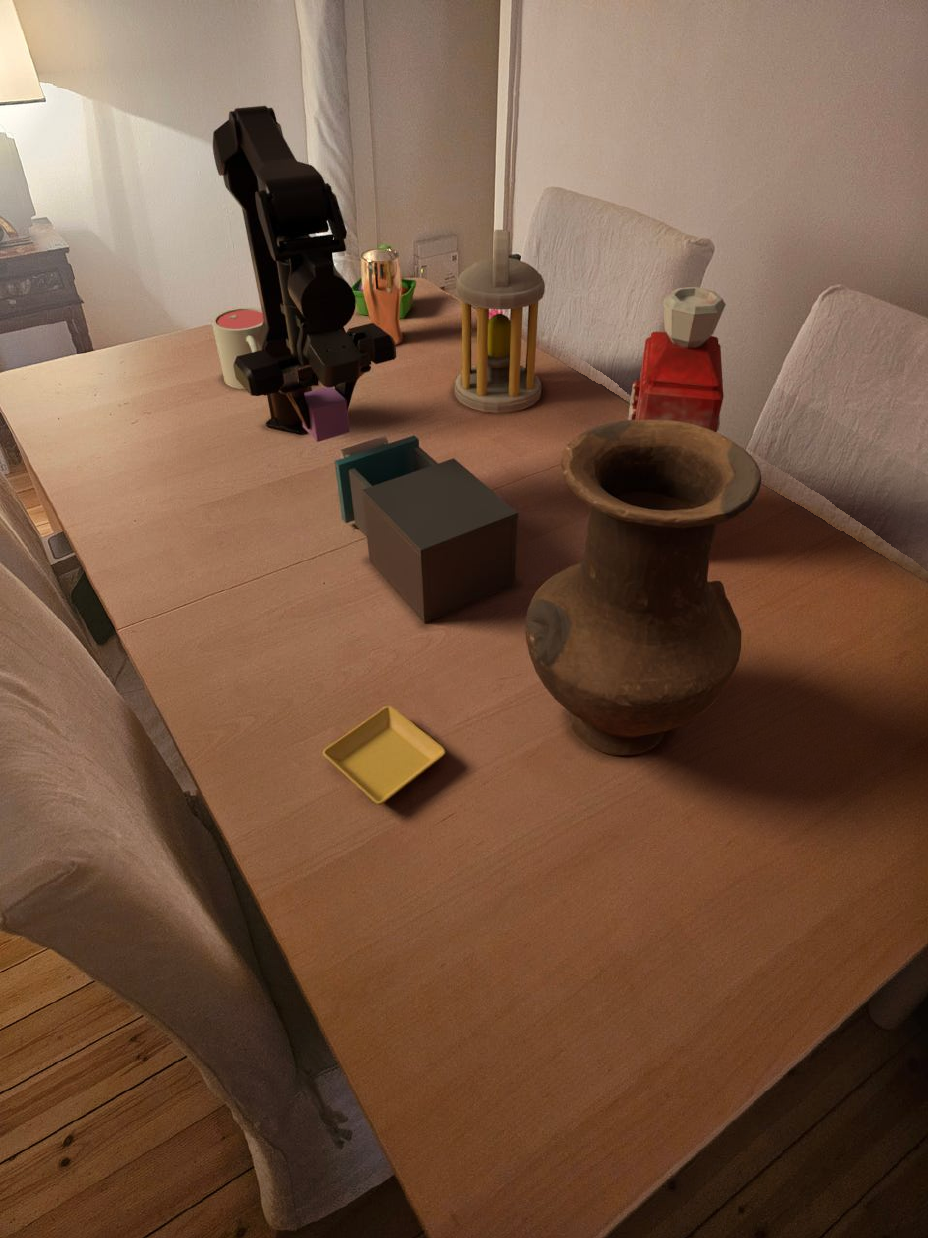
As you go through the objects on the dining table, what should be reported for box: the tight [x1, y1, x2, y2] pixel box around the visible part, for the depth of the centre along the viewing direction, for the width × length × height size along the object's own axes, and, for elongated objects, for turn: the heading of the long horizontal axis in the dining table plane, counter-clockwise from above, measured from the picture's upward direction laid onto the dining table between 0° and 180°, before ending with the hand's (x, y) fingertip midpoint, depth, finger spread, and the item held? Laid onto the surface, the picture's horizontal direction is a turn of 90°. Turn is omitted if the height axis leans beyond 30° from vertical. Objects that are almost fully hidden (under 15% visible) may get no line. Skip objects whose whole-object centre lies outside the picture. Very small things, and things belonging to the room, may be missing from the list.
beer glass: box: [360, 247, 404, 346], centre depth 145 cm, size 7×7×15 cm
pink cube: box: [302, 386, 351, 443], centre depth 102 cm, size 4×4×4 cm
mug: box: [211, 306, 263, 390], centre depth 134 cm, size 14×9×10 cm
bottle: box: [627, 286, 727, 433], centre depth 97 cm, size 14×10×30 cm
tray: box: [334, 435, 439, 538], centre depth 104 cm, size 17×11×9 cm
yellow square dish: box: [322, 705, 447, 805], centre depth 78 cm, size 9×9×2 cm
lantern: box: [454, 229, 546, 414], centre depth 126 cm, size 14×14×25 cm
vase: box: [524, 419, 762, 756], centre depth 73 cm, size 19×19×30 cm
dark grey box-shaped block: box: [362, 458, 519, 624], centre depth 97 cm, size 14×13×11 cm
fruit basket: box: [350, 244, 417, 319], centre depth 156 cm, size 11×9×11 cm
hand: (325, 422), depth 103 cm, fingers closed on pink cube, 4 cm apart
